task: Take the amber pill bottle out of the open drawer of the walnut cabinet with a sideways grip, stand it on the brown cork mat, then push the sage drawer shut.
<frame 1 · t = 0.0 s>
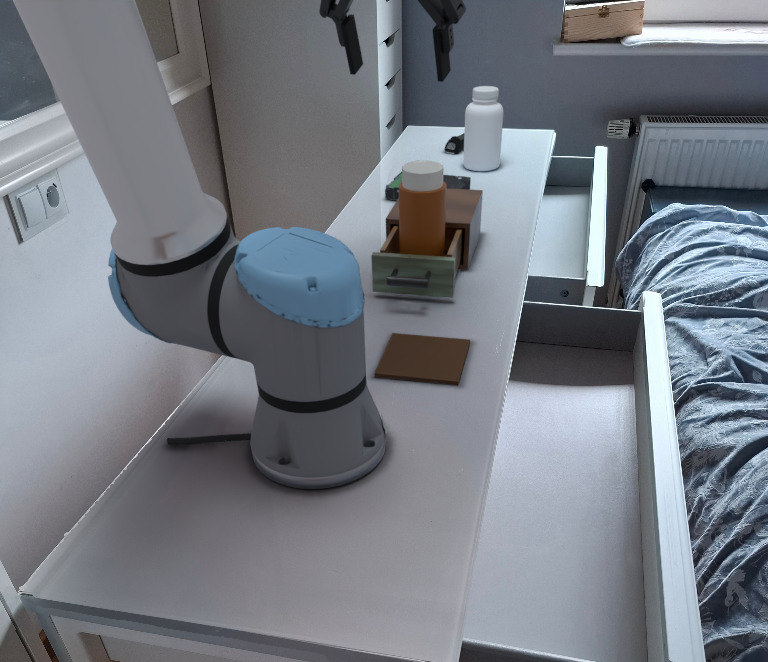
hand: (399, 72, 100), 28 cm above the table, tool tilted 20°, fingers open, 13 cm apart
electric trimmer: (466, 146, 168), on the table
drawer: (418, 262, 110), point 4 cm above the table, slide at 11.0 cm, touching pill bottle
cabinet: (434, 249, 123), on the table
disk drive: (427, 196, 144), on the table
pill bottle: (421, 267, 113), point 2 cm above the table, touching drawer
pill bottle 2: (481, 167, 156), on the table
mat: (423, 359, 96), on the table
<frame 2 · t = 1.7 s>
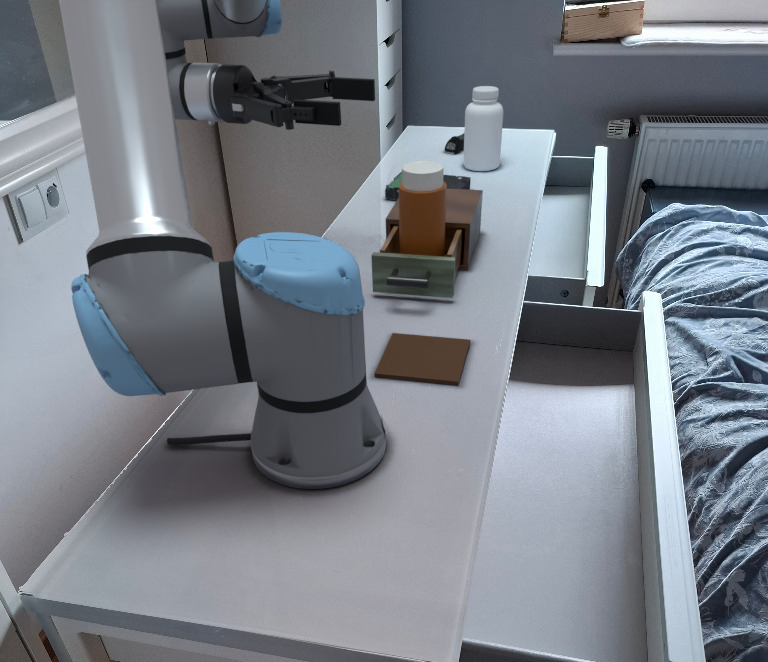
hand: (358, 101, 100), 25 cm above the table, tool horizontal, fingers open, 13 cm apart
nothing on the table moved.
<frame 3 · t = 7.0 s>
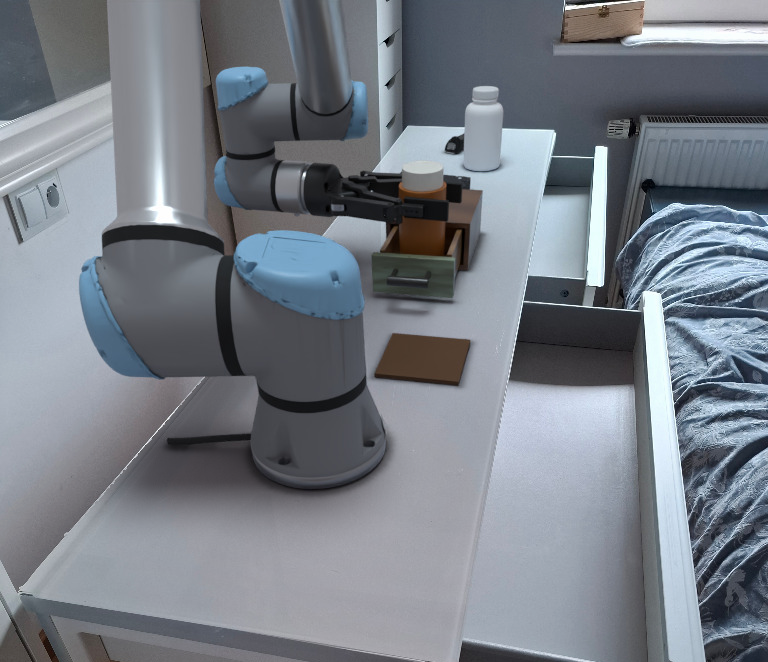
hand: (454, 201, 105), 12 cm above the table, tool horizontal, fingers closed on pill bottle, 7 cm apart
pill bottle: (421, 267, 113), point 2 cm above the table, touching drawer, gripper
everything else where it was.
when the fingers open (11 cm above the table, at t = 16.3 s): pill bottle stays where it is, resting on mat.
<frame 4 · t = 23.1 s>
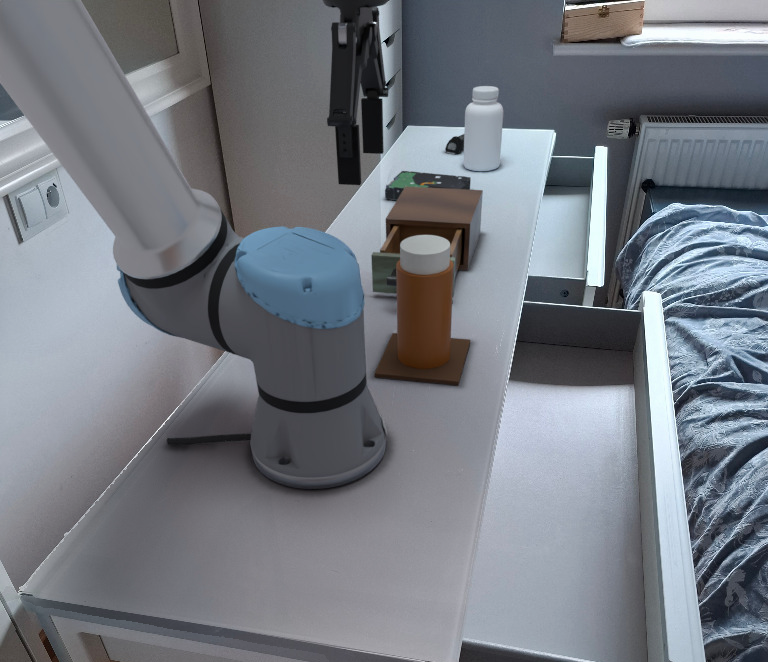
hand: (362, 167, 93), 20 cm above the table, tool pointing down, fingers open, 13 cm apart
drawer: (418, 262, 110), point 4 cm above the table, slide at 11.0 cm
pill bottle: (423, 355, 96), point 1 cm above the table, touching mat
everything else where it was.
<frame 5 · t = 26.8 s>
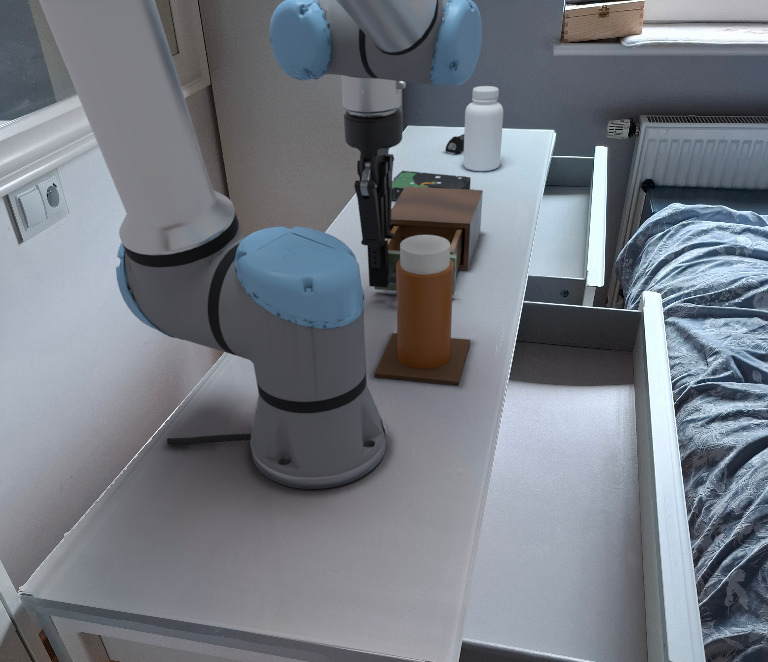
hand: (379, 284, 107), 3 cm above the table, tool pointing down, fingers closed
drawer: (420, 260, 111), point 4 cm above the table, slide at 10.0 cm
everything else where it was.
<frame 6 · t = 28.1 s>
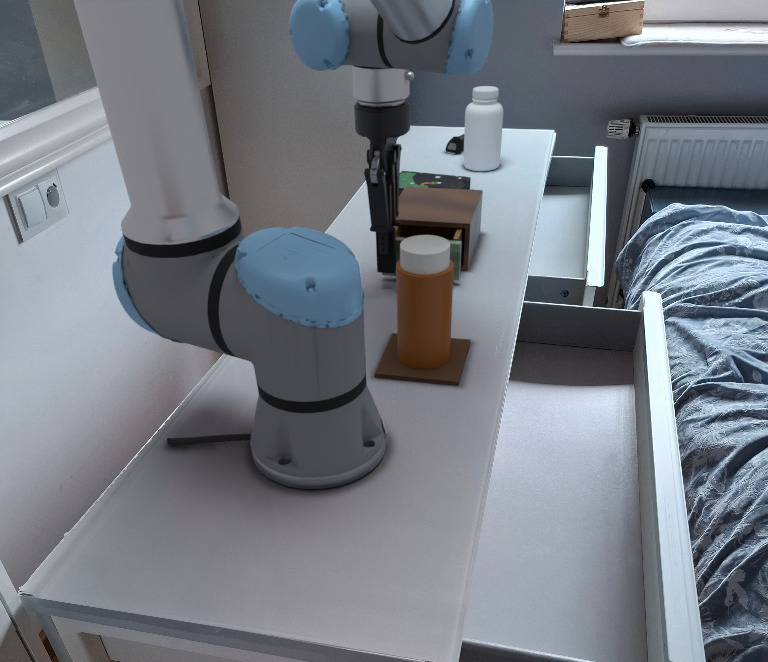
hand: (386, 270, 111), 3 cm above the table, tool pointing down, fingers closed
drawer: (426, 247, 115), point 4 cm above the table, slide at 4.8 cm, touching gripper
everything else where it was.
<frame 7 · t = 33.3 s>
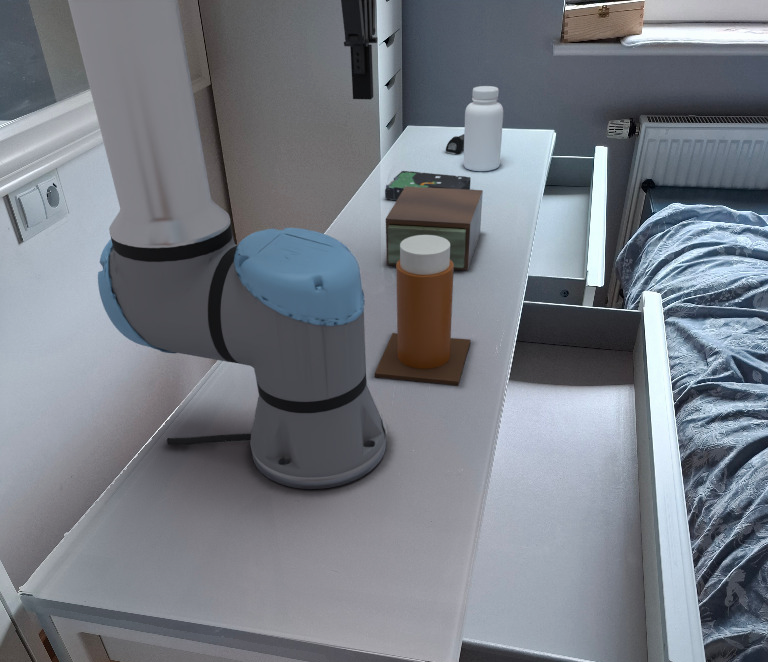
hand: (363, 97, 104), 24 cm above the table, tool pointing down, fingers closed
drawer: (431, 235, 118), point 4 cm above the table, slide at 0.0 cm
everything else where it was.
at the end: pill bottle inside the target area on the mat (0.1 cm from its centre), point 0.6 cm above the mat's base; pill bottle tilted 0°; drawer slide at 0.0 cm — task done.
